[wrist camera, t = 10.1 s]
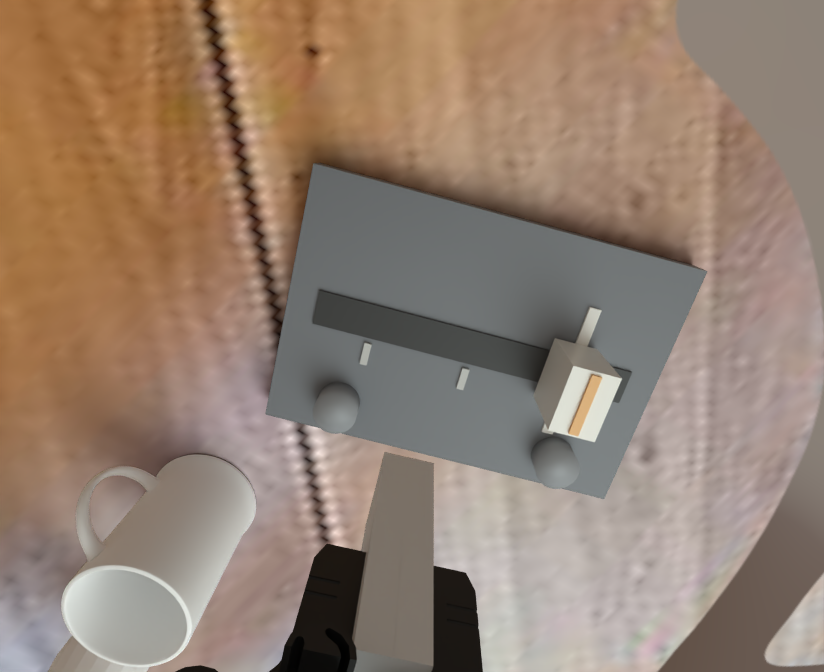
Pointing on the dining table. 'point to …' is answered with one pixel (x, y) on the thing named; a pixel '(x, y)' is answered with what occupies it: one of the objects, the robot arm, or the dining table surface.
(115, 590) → the mug
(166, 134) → the dining table surface
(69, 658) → the pepper shaker
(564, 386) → the fader tab
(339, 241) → the console board
